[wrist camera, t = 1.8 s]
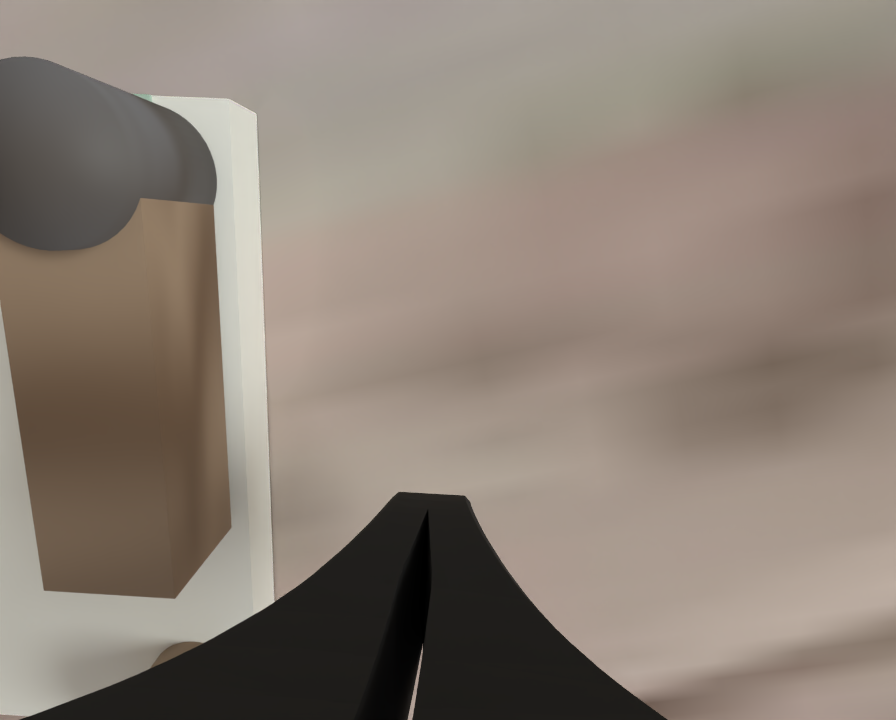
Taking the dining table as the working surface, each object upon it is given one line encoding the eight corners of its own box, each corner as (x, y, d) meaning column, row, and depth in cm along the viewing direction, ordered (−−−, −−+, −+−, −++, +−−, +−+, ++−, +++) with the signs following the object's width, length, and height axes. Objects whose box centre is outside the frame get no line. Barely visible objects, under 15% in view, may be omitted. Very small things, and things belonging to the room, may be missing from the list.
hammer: (75, 100, 11) (-68, 52, 8) (212, 105, 11) (119, 59, 8) (121, 520, 13) (22, 604, 10) (235, 527, 13) (168, 613, 10)
